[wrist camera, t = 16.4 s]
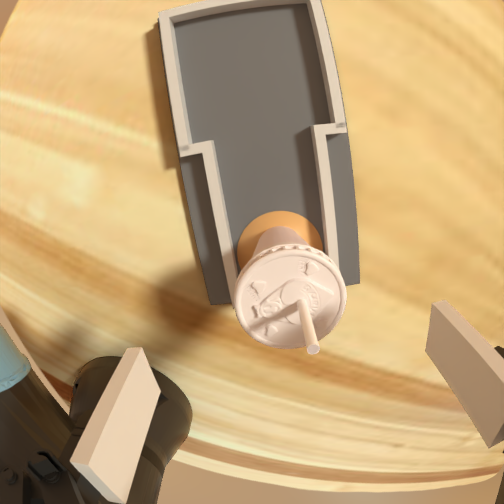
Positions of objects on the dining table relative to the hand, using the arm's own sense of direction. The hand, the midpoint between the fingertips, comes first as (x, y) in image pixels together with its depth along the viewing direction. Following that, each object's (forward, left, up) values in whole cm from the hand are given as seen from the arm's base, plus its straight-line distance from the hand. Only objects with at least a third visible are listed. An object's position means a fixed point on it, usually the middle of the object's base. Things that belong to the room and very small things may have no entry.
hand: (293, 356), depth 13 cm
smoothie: (0, 0, -14) cm, 14 cm away
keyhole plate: (0, +9, -15) cm, 17 cm away
